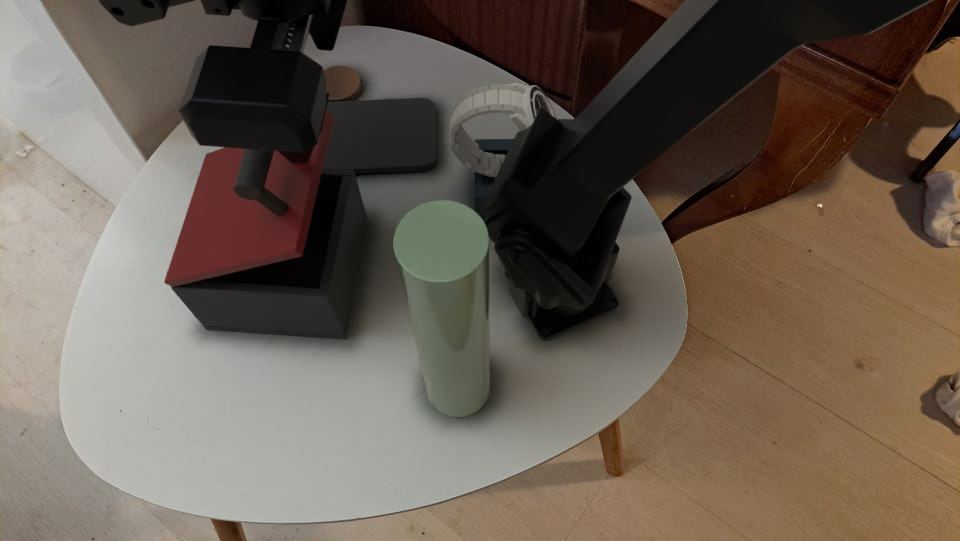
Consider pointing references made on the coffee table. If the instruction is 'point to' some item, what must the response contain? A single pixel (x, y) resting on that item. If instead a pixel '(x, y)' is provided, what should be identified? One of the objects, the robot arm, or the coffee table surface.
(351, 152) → the phone
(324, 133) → the storage box lid
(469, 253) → the pale green cylinder
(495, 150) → the watch
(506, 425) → the coffee table surface
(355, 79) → the brown flat disc
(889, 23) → the robot arm
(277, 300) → the lidded storage box
